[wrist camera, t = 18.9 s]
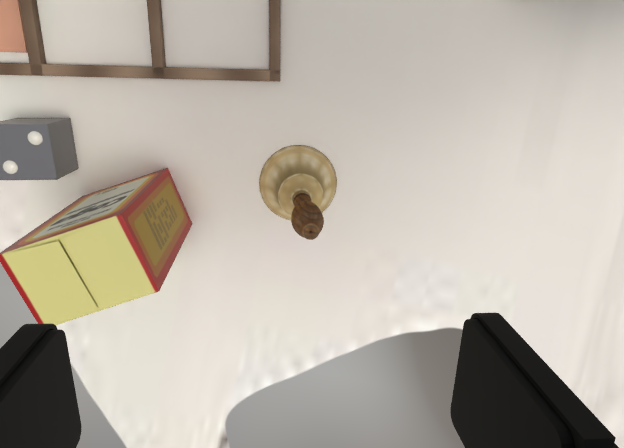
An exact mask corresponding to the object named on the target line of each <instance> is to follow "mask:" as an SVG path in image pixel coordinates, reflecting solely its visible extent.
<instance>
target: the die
mask: <svg viewBox="0 0 624 448" xmlns="http://www.w3.org/2000/svg"><path fill="white" fill-rule="evenodd" d="M76 169H78V162H77V156H76V150H75V144H74V137H73V131H72V125H71V119H70V118H15V119H10V120H5V121H0V180H57V179H59V178H61V177H63V176H65V175H67V174H69V173H70V172H72V171H74V170H76Z"/></svg>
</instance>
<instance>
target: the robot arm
mask: <svg viewBox="0 0 624 448" xmlns="http://www.w3.org/2000/svg"><path fill="white" fill-rule="evenodd" d="M451 418H452V422H453V425H454V427H455V429H456V431H457V433H458V435H459V437H460V439H461V441H462V442H463V444H464V446H465V448H619V447H618V446H617V445H616V444H615V443H614V441H615V437H614V436H613V435H612V434H611V433H610V431H609V430H608V429H607V428H606V427H605V426H604V425H603V424H602V423H601V422H600V421H599V420H598V419H597V418H596V416H595V415H594V414H593V413H592V412H591V411H590V410H589V409H588V408H587V407H586V406H585V405H584V404H583V403H582V401H581V400H580V399H579V398H578V397H577V396H576V395H575V394H574V393H573V392H572V391H571V390H570V389H569V388H568V387H567V385H566V384H565V383H564V382H563V381H562V380H561V379H560V378H559V377H558V376H557V375H556V374H555V373H554V372H553V370H552V369H551V368H550V367H549V366H548V365H547V364H546V363H545V362H544V361H543V360H542V359H541V358H540V357H539V355H538V354H537V353H536V352H535V351H534V350H533V349H532V348H531V347H530V346H529V345H528V344H527V343H526V342H525V340H524V339H523V338H522V337H521V336H520V335H519V334H518V333H517V332H516V331H515V330H514V329H513V328H512V327H511V326H510V324H509V323H508V322H507V321H506V320H505V319H504V318H503V317H502V316H501V315H500V314H499V313H474V314H473V315H472V316H471V319H467V320H466V321H465V322H464V326H463V333H462V339H461V346H460V352H459V359H458V365H457V371H456V377H455V384H454V390H453V397H452V403H451ZM80 435H81V421H80V415H79V410H78V404H77V399H76V393H75V387H74V381H73V376H72V370H71V364H70V358H69V353H68V347H67V341H66V336H65V333H64V331H63V330H57V327H56V326H55V325H54V324H52V323H51V324H25V325H23V326H22V327H21V328H20V329H19V330H18V331H17V332H16V333H15V334H14V335H13V336H12V337H11V338H10V339H9V340H8V341H7V342H6V343H5V344H4V346H2V347H1V349H0V448H76V446H77V444H78V442H79V439H80Z"/></svg>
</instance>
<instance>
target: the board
mask: <svg viewBox="0 0 624 448" xmlns="http://www.w3.org/2000/svg"><path fill="white" fill-rule="evenodd" d="M19 3H20V5H19ZM147 7H148V19H149V31H150V43H151V54H152V66H153V67H131V66H93V65H56V64H46V60H45V54H44V47H43V41H42V34H41V28H40V22H39V15H38V9H37V2H36V0H0V52H27V51H28V57H29V63H30V64H18V63H0V75H40V76H81V77H122V78H163V79H204V80H245V81H280V0H269V33H270V70H243V69H206V68H168V67H166V64H165V51H164V38H163V25H162V11H161V0H147ZM20 9H21V11H20ZM21 15H22V17H21ZM22 21H23V23H22ZM23 27H24V29H23ZM24 33H25V34H24ZM25 39H26V40H25ZM26 45H27V46H26Z"/></svg>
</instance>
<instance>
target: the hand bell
mask: <svg viewBox="0 0 624 448" xmlns="http://www.w3.org/2000/svg"><path fill="white" fill-rule="evenodd" d="M259 183H260V192H261V195H262V198H263V200H264V202H265V204H266V205H267V206H268V208H269V209H270V210H271V211H272V212H274V213H275V214H276V215H278V216H280V217H282V218H285V219H288V220H291V222H292V225H293V228H294V230H295V231H296V232H297V233H298V234H299V235H300V236H302V237H305V238H306V239H311V240H312V239H315V238H316V237H317V236H318V235H319V233H320V232H321V230H322V228H323V223H324V219H323V215H322V212H323V211H324V210H325V209H326V208H327V207H328V206H329V205H330V203H331V202H332V200H333V198H334V195H335V192H336V186H337V179H336V174H335V170H334V168H333V166H332V164H331V162H330V161H329V160H328V159H327V157H326V156H325V155H324V154H322V153H321V152H320V151H318V150H316V149H314V148H311V147H308V146H302V145H296V146H289V147H285V148H283V149H281V150H279V151H277V152H276V153H274V154H273V155H272V156H271V157H270V158H269V159H268V160H267V162H266V163H265V165H264V167H263V169H262V171H261V175H260V182H259Z"/></svg>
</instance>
